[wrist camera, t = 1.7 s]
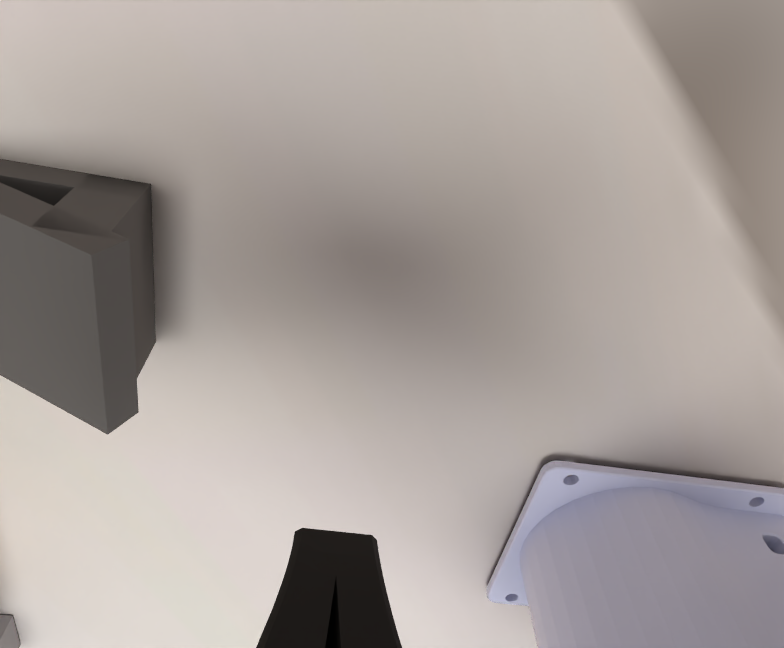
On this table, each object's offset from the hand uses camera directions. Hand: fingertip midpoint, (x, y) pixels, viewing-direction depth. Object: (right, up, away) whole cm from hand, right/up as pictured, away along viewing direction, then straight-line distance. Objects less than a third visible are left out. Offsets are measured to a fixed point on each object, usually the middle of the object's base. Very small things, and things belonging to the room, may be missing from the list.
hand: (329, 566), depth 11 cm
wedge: (-8, +6, +6) cm, 12 cm away
